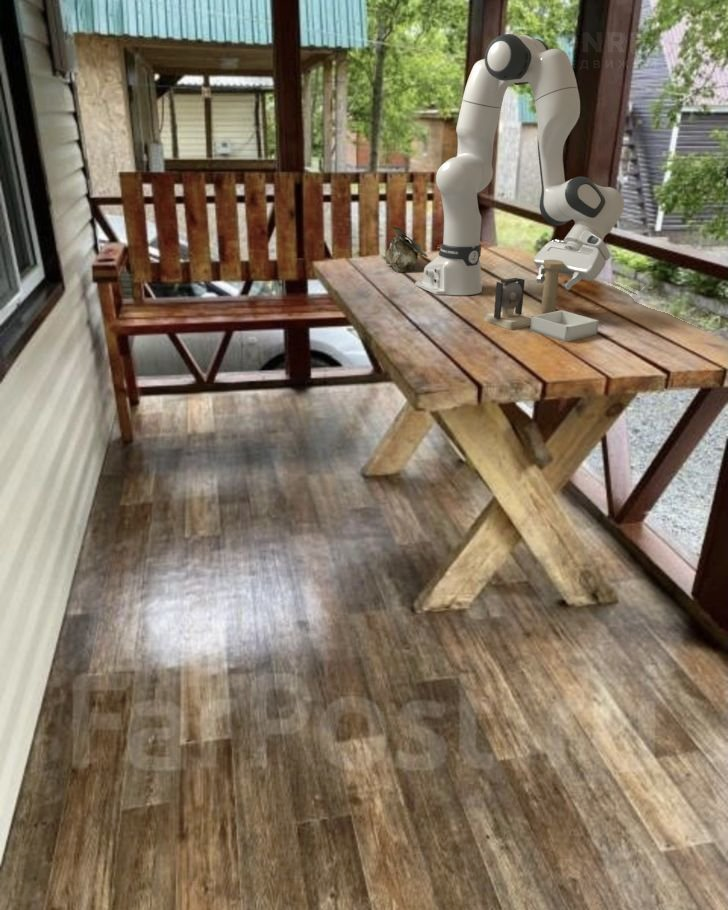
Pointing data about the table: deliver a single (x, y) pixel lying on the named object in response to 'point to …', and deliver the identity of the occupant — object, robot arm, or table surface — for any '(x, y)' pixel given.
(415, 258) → the hollow geode rock
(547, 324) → the tray
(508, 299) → the pulley block
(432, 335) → the table surface
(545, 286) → the handle
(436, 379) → the table surface
